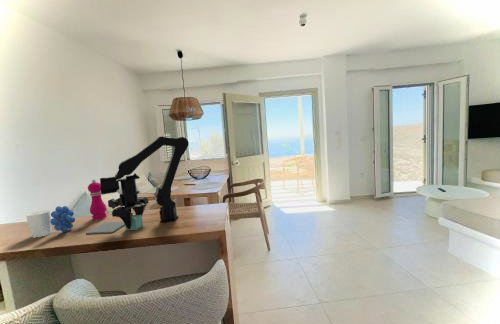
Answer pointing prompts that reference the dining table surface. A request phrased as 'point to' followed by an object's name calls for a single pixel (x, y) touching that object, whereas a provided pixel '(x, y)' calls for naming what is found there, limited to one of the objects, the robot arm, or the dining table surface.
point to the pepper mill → (96, 201)
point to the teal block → (135, 222)
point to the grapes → (62, 218)
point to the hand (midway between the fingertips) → (134, 225)
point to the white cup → (39, 223)
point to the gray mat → (107, 228)
